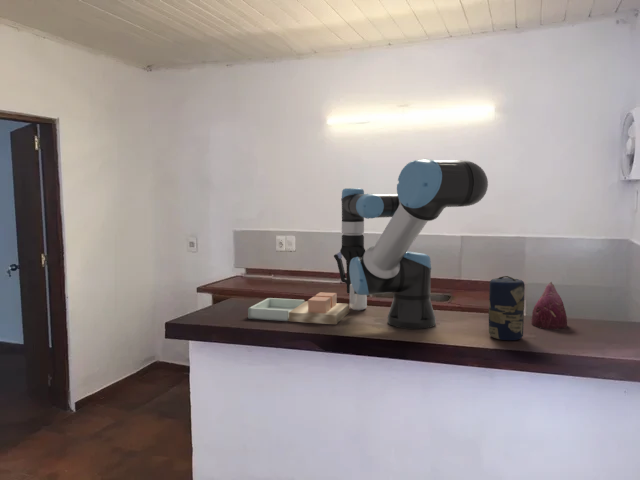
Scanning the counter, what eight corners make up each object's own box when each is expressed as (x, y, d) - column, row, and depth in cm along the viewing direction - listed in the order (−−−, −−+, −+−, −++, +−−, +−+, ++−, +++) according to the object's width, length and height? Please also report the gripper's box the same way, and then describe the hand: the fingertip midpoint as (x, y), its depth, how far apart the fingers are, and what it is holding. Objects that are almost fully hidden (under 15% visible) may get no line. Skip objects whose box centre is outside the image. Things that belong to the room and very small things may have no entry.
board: (348, 312, 183) (348, 303, 183) (336, 324, 166) (336, 315, 166) (305, 309, 188) (305, 301, 187) (288, 321, 170) (288, 312, 170)
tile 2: (336, 304, 182) (336, 293, 182) (332, 307, 176) (332, 296, 176) (320, 303, 184) (320, 292, 183) (315, 306, 178) (315, 295, 178)
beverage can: (346, 309, 188) (346, 276, 187) (356, 306, 193) (356, 274, 191) (359, 311, 184) (359, 278, 183) (370, 308, 188) (370, 276, 187)
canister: (504, 344, 143) (506, 279, 142) (481, 335, 152) (482, 274, 150) (530, 340, 147) (532, 277, 146) (506, 332, 156) (508, 272, 154)
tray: (304, 309, 188) (304, 299, 187) (287, 321, 170) (287, 310, 170) (268, 307, 192) (268, 297, 191) (248, 318, 174) (248, 308, 174)
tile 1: (330, 309, 174) (330, 297, 174) (325, 313, 169) (325, 301, 168) (313, 308, 176) (313, 296, 176) (308, 312, 170) (308, 300, 170)
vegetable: (536, 330, 170) (534, 284, 173) (570, 330, 164) (567, 283, 167) (527, 328, 162) (525, 280, 165) (563, 329, 156) (560, 279, 159)
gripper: (373, 233, 177) (373, 301, 179) (336, 232, 180) (336, 299, 183) (369, 235, 170) (369, 306, 172) (331, 234, 173) (331, 304, 175)
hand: (352, 302), depth 177 cm, fingers closed
